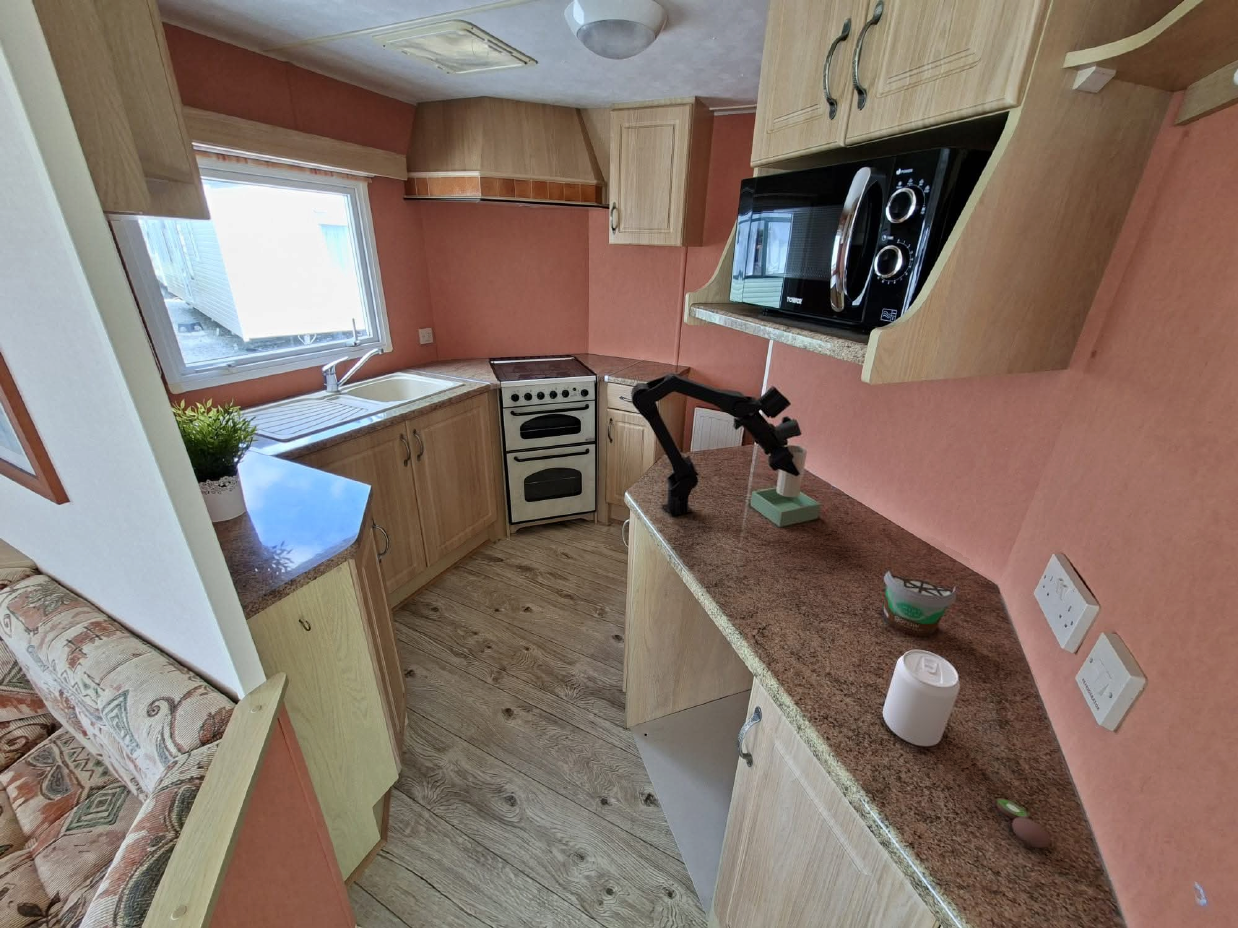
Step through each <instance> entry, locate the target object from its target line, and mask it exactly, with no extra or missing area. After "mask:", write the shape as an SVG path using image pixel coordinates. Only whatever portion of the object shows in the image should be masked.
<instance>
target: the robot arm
mask: <svg viewBox="0 0 1238 928" xmlns="http://www.w3.org/2000/svg"><path fill="white" fill-rule="evenodd" d="M672 393H676V394H677V393H678V394H681V395H683V396H687V397H689V398H693V399H695V400H698V401H701V402H704V403H707V404H710V405H713V406H714V407H716V408H718V409H719V410H721V411H723V412H724V413H726V414H728V415H730V416H731V417H733V425H732V426H733V428H734V430H739V429H740V428H741V427H742V428H743V429H744V430H745V431H746V432H747V433H748V435H750V437H751V438H752V439H753V442H754V443H755V444H756V445H759V447H760V448H761V449H762V450H763V453H764V454H765V456H768V455H769V456H768V460H767V463H768V466H769V468H771V469H772V470H773V472H776V471H779V470H782V471H785V472H787V473H790V474H792V475H795V476H798V475H800V473H799V471H798V469H797V468H796V466H795V464H794V463H793V461H792V459H793V457H794V455H793V452H792V451H791V450H790V449H789V448H788V447H783V446H786V445H789V444H788V443H789V441H788V440H789V439H792V438H795V437H800V436H802V431H801V429H800V428H801V427H800V424H799V422H798V421H797V419H795V418H792V419H791V418H790V417H789V415H785V416H783V417H781V422H780V423H778V425H776V426H775V425H774V423H771V422H769V421H768V420H767V419H769V418H770V419H776V417H778V416H779V415H780V414H782V412H784V411H785V410H786V409H787V408H789V407H790V406H791V405H792V403H791V402H790V400H789V399H788V398H787V397H786V396H785V395H784V394H782V392H780V391H779V390H778V388H777V387H776V386H774V385H772V386H770V387H769V388H768V390H767V391H766V392H765V393H763V394H762V395H761V396H760V397H759V398H756V397H755V396H749V395H744V393H743V392H740V391H737V390H733V389H719V388H714V387H711V386H709V385H706V384H704V383H700V382H697V381H694V380H691V379H689V378H686V377H683V376H680V375H678V374H676V373H674V372H673V373H672V372H670V373H668V374H666V375H663V376H661V377H658V378H654V379H651V380H650V381H647V382H639V383H636V384H635V385H634V386H633V387H632V388H631V392H630V395H631V402H632V405H633V407H634V408H635V409H636V410H637V412H638V413H639V415H641V416H642V417H643V418H644V419H645V420H646V421H647V422H648V424H649V426H650V428H651V430H652V431H653V433H654V436H655V437H656V439H657V441H658V442H659V444H660V447H661V448H662V449H663V452H664V453H665V455H666V457H667V458H668V461H669V462H670V465H671V467H672V468H671V469H672V471H673V472H672V473H670V474H669V476H667V477H666V482H667V485H668V487H667V503H665V504H662V508H663V509H664V510H665V511H666V513H668V514H669V515H670V516H671V517H676V516H682V515H686V514H691V513H692V512H693V510H692V509H691V508H690V507H689V497H690V495H691V493H692V491H693V489H694V488H696V487H697V485H698V483H699V477H698V476H700V474H699V472H698V469H697V466H696V464H694V463H693V460H692V457H691V455H690V454H688V455H687V456H685V455H684V454H682V452H681V450H680V449H679V447H678V444H677V443H676V441H675V439H674V437H673V436H672V434H671V432H670V430H669V428H668V426H667V424H666V422H665V420H664V419H663V417H662V414H661V413H660V411H659V408H658V405H657V402H659V401H661V400H662V399H664V398H665V397H667V396H668V395H670V394H672ZM760 412H762V413H763V415H762V413H760ZM764 416H766V418H767V419H766V418H765V417H764Z"/></svg>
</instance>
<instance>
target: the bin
mask: <svg viewBox="0 0 1238 928" xmlns="http://www.w3.org/2000/svg"><path fill="white" fill-rule="evenodd" d="M776 488H777V486H776V487H771V488H765V489H760V490H754V491H751V497H750V498H751V499H750V507H751V508H753V509H754V510H756V511H757V512H758V513H759V514H761V515H762V516H764V517H765V518H767V519H768V520H769V521H771V522H772V523H773V524H774V525H776V526H778V527H779V528H781V527H787V526H791V525H794V524H799V523H803V522H808V521H813V520H818V519H819V514H820V509H821V503H820V502H818V501H817V500H815V499H814V498H811V497H810V496H808V495H806V494H805V493H803V492H802V491H800V494H799V495H798V496H797V497H786V496H782V495H780V494H778V493H777V491H776Z"/></svg>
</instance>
